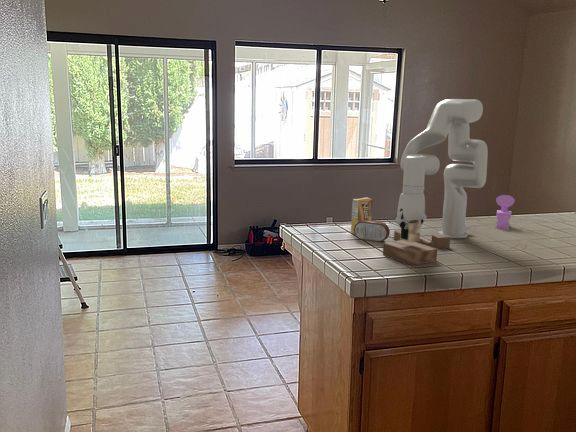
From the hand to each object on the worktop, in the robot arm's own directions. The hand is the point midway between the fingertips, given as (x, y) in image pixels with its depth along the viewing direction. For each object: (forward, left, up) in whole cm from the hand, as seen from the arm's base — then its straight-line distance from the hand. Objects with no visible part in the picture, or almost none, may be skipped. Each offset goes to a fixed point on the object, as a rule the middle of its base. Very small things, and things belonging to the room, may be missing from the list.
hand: (409, 237), depth 202 cm
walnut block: (0, 0, -8) cm, 8 cm away
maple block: (0, 0, -1) cm, 1 cm away
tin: (-4, -27, -8) cm, 28 cm away
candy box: (-9, -40, -8) cm, 42 cm away
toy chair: (-77, -18, -8) cm, 80 cm away
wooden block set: (-19, -13, -9) cm, 25 cm away
